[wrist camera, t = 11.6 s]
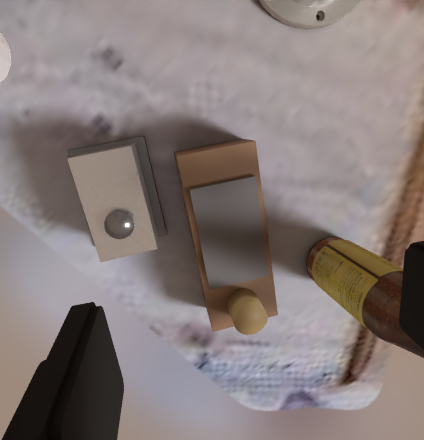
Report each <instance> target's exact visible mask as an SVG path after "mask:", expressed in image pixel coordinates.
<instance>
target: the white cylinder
mask: <svg viewBox="0 0 424 440" xmlns="http://www.w3.org/2000/svg"><path fill="white" fill-rule="evenodd" d="M10 66H11V55H10V48H9V46H8V44H7V42H6V40H5V38H4V36H3V34H2V33H1V32H0V83H1V82H2V81H3V80H4V79H5V78H6V76H7V75H8V72H9V69H10Z"/></svg>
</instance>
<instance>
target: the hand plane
mask: <svg viewBox="0 0 424 440" xmlns="http://www.w3.org/2000/svg"><path fill="white" fill-rule="evenodd" d="M174 155H175V160H176V165H177V170H178V174H179V179H180V184H181V189H182V194H183V198H184V203H185V208H186V213H187V217H188V222H189V227H190V232H191V237H192V241H193V246H194V251H195V256H196V260H197V265H198V270H199V275H200V280H201V284H202V289H203V294H204V299H205V303H206V308H207V312H208V315H209V319H210V323H211V326H212V330H213V332H214V331H218V330H222V329H225V328H229V327H233V326H235V328H236V329H237V331H239V332H240V333H242V334H246V335H250V334H254V333H257V332H259V331H260V330H261V329H262V328H263V327H264V326H265V324H266V322H267V318H268V317H272V316H276V315H278V312H277V304H276V296H275V289H274V281H273V273H272V265H271V258H270V250H269V242H268V235H267V227H266V219H265V211H264V204H263V196H262V188H261V180H260V173H259V165H258V157H257V149H256V142H255V141H253V140H246V139H239V140H234V141H229V142H224V143H219V144H213V145H208V146H203V147H198V148H193V149H188V150H183V151H177V152H174Z"/></svg>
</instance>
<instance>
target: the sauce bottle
mask: <svg viewBox="0 0 424 440" xmlns="http://www.w3.org/2000/svg"><path fill="white" fill-rule="evenodd" d="M307 270H308V273H309V275H310V277H311V278H312V279H313V280H314V281H315V283H316V284H317V285H318V286H319V287H320V288H321V289H322V290H323V291H325V292H326V293H327V294H328V295H329V296H330V297H332V298H333V299H334V300H335V301H336V302H337V303H338V304H340V305H341V306H342V307H343V308H344V309H345V310H346V311H348V312H349V313H350V314H351V315H352V316H353V317H354V318H356V319H357V320H358V321H359V322H360V323H361V324H362V325H364V326H365V327H366V328H367V329H368V330H369V331H371V332H372V333H373V334H374V335H376V336H377V337H379V338H380V339H382V340H384V341H386V342H389V343H392V344H395V345H397V346H399V347H401V348H404V349H406V350H408V351H410V352H412V353H414V354H416V355H418V356H421V357H423V358H424V350H423V349H422V348H421V347H420V346H419V345H418V344H417V343H416V342H414V341H413V340H412V339H411V338H410V337H409V336H408V335H407V334H406V333H405V332H404V331H403V330H402V329H401V327H400V324H399V312H400V301H401V290H402V279H403V269H402V268H400V267H398V266H396V265H394V264H393V263H391V262H389V261H387V260H385V259H383V258H381V257H379V256H378V255H376V254H374V253H372V252H370V251H368V250H366V249H364V248H362V247H360V246H358V245H356V244H354V243H352V242H350V241H348V240H344V239H342V238H339V237H333V238H328V239H325V240H323V241H320V242H318V243H317V244H316V245H315V246H314V247H313V249H312V250H311V252H310V253H309V255H308V258H307Z"/></svg>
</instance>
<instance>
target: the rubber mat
mask: <svg viewBox="0 0 424 440" xmlns="http://www.w3.org/2000/svg"><path fill="white" fill-rule="evenodd" d="M132 143H135V144H136V148H137V152H138V156H139V160H140V164H141V168H142V172H143V176H144V180H145V184H146V188H147V192H148V196H149V200H150V204H151V208H152V211H153V215H154V219H155V223H156V227H157V235H158V236H162V235H166V229H165V225H164V220H163V216H162V212H161V208H160V203H159V199H158V195H157V191H156V186H155V182H154V178H153V174H152V169H151V165H150V161H149V157H148V152H147V148H146V144H145V139H144V136H142V137H137V138H132V139H126V140H121V141H116V142H110V143H105V144H100V145H94V146H89V147H84V148H78V149H73V150H68V153H69V156H70V157H73V156H76V155H79V154H82V153H87V152H92V151H97V150H102V149H107V148H112V147H117V146H122V145H127V144H132Z"/></svg>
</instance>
